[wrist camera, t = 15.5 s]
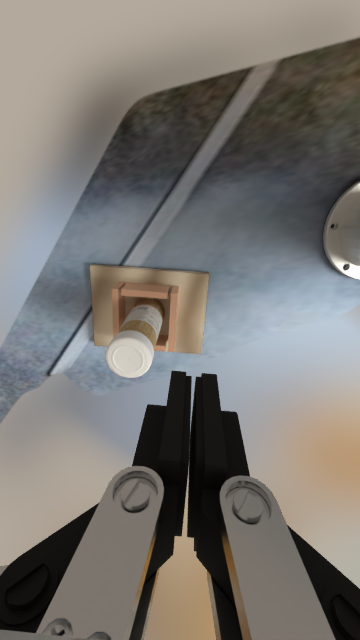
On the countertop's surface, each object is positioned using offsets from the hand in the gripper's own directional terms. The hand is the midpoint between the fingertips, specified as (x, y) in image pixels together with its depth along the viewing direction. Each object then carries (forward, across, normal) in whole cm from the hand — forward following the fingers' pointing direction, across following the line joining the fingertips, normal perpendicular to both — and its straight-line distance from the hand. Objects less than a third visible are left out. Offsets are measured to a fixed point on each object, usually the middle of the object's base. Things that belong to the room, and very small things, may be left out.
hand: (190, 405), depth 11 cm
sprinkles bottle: (+28, +6, +7) cm, 29 cm away
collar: (+28, +6, +7) cm, 29 cm away
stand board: (+29, +6, +7) cm, 31 cm away
